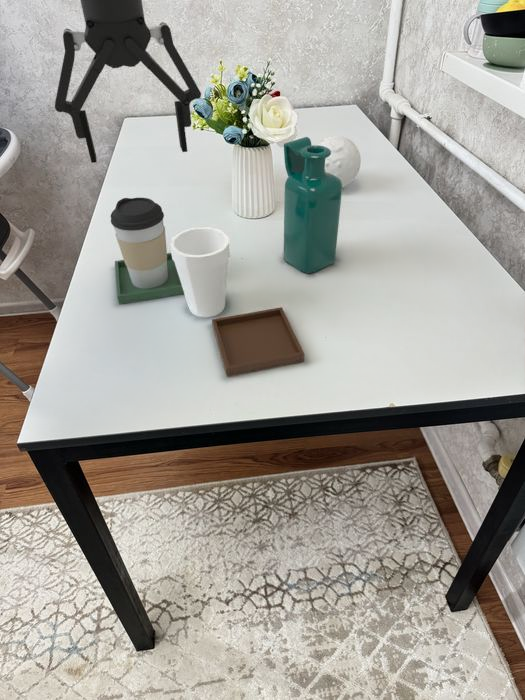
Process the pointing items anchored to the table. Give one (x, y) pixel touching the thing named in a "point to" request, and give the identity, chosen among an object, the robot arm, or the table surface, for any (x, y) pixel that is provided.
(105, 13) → the robot arm
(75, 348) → the table surface
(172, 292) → the sage tray
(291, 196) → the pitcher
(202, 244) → the foam cup
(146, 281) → the coffee cup
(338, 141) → the decorative ball
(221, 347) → the walnut tray
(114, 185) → the table surface
